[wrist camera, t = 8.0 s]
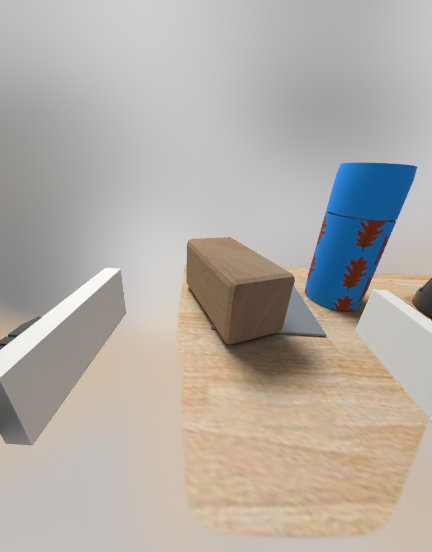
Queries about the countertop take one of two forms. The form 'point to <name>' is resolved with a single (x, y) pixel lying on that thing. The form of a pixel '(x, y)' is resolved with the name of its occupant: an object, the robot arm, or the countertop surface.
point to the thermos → (356, 231)
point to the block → (238, 288)
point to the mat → (298, 318)
